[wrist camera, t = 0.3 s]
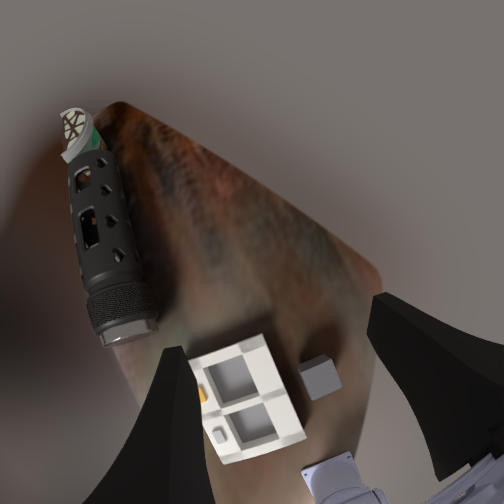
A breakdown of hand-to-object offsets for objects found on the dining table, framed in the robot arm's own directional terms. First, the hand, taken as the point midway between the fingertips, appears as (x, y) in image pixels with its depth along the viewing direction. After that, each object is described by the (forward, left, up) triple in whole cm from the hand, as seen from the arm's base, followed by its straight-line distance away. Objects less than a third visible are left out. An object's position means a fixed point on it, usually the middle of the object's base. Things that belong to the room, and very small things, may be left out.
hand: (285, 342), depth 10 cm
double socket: (-9, +8, -29) cm, 31 cm away
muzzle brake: (+18, +18, -29) cm, 39 cm away
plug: (-9, -3, -29) cm, 30 cm away
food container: (+40, +19, -29) cm, 53 cm away
